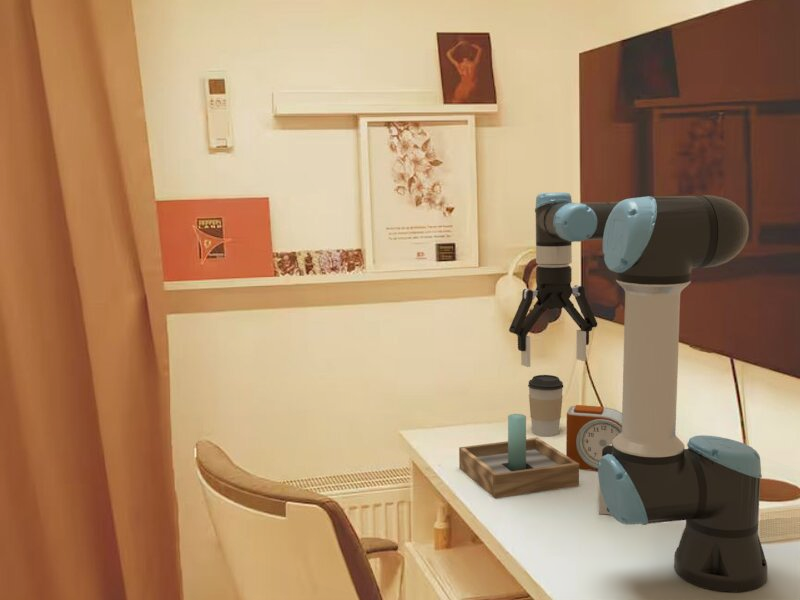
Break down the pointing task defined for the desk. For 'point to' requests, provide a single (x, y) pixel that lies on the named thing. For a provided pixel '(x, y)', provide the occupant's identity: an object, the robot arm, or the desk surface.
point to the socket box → (540, 474)
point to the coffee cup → (545, 404)
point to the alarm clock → (590, 433)
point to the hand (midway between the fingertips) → (553, 363)
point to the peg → (516, 442)
